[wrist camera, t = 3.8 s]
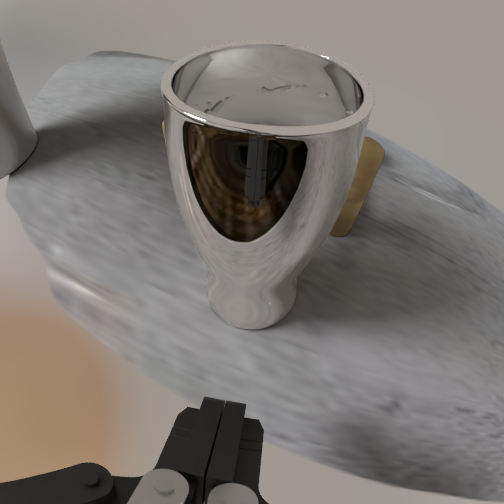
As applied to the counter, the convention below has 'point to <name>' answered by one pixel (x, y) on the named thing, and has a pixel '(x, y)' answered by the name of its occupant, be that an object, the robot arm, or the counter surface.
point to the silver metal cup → (261, 165)
